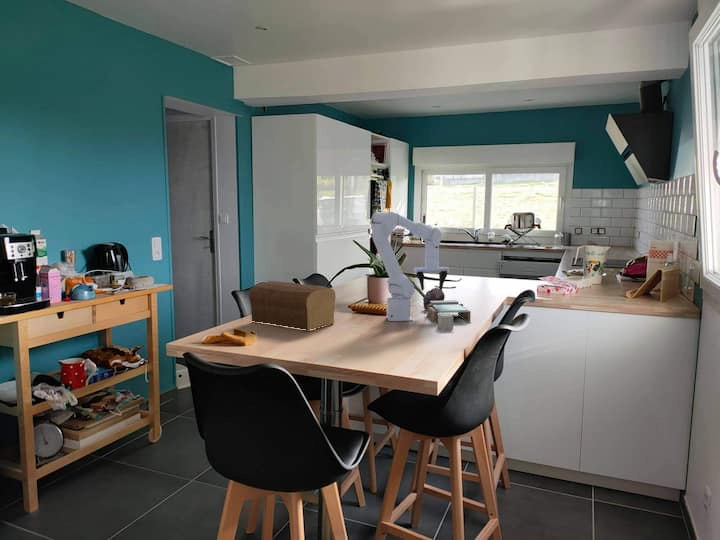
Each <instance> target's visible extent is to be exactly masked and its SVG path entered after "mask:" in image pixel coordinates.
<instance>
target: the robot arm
mask: <svg viewBox="0 0 720 540" xmlns="http://www.w3.org/2000/svg"><path fill="white" fill-rule="evenodd" d="M369 223H370V227H371V231H372V232H371V233H372V241H373V243H374V245H375V248H376V250H377V252H378V255H379V257H380V259H381V262H382V263H383V264H382V265H383V267H384V268H385V269H384V270H385V271H386V273H387V276H388V279H387V280H386V282H387V286H388V291H389V292H388V293H389V294H390V297H387V299H386V319H387V320H388V322H412V321H414V320H413V318H412V317H411V299H412V296H413V295H414V292H415V286H414V284H413V282H412V281H410V279H409V277H408V276H407V275H406V274H405V273H403V271H402V269H401V266H400V263H399V261H398V258H397V257H396V255H395V252H394V250H393V247H392V246H391V243H390V240H389V237H390V236H391V235H392V233H393V232H394V230H395V229H396V227H397V226H400V227H402V228H404V229H407V230H409V231H410V233H411V234H412V235H414V236H416V237H418V238H420V239H422V241H424V266H422V267H419V266H418V267H413V273H415V274H416V277H417V279H418V281H419V285H420V289H421V291H424V290H425V285H424V283H425V282H424V281H425V274H424V273H438V276H439V277H438V279H439V284H438V285H439V286H438V288H439V289H440V290H442V291H443V287H444V283H445V280H446V278H447V276H448V273H450V267H449V266H439V265H440V259H439V258H440V257H439V255H440V245H441V240H442V238H443V234H442V232H441V230H440V229H439V228H436V227H432V225H430V224H426V223H424V221H423V220H417V221H412V220H410V219H408V218H406V217H404V216H403V215H401V214H399V213H396V212H395V211H386V212H385V211H384V212H383V211H376V212H374V213H373V214H372V215H371V219H370V220H369Z"/></svg>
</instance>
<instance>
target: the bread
mask: <svg viewBox="0 0 720 540" xmlns="http://www.w3.org/2000/svg"><path fill="white" fill-rule="evenodd" d="M336 297H337V296H336V291H335V290H334V289H333V288H331V287H327V286H323V285H314V284H303V283H302V284H301V283H295V282H288V281H287V282H286V281H285V282H284V281H277V280H275V281H274V280H273V281H272V280H271V281H270V280H269V281H263V282H260V283H257V284H255V285H253V286H252V287H251V288H250V289H249V293H248V298H249V304H250V312H251V322H252V321H255V322H263V323H270V324H276V325H282V326H288V327H294V328H300V329H306V330H310V329H314V328H318V327H322V326H325V325H329V324H332V325H334V324H335V303H336V302H335V301H336ZM333 323H334V324H333ZM329 326H330V325H329Z"/></svg>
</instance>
